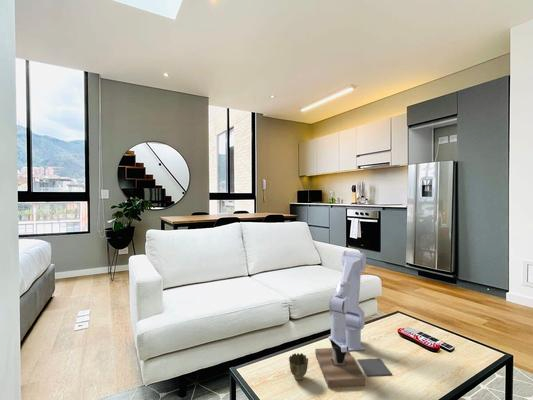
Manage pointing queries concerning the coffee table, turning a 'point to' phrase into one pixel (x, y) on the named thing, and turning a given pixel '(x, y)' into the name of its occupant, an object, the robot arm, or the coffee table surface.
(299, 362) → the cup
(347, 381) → the brown wooden socket board
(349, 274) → the robot arm
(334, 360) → the plug
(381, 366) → the mat
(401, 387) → the coffee table surface
